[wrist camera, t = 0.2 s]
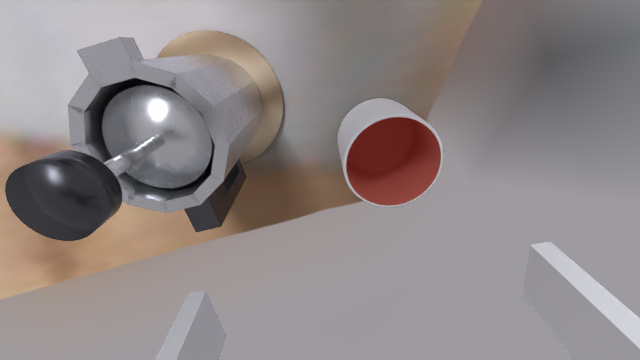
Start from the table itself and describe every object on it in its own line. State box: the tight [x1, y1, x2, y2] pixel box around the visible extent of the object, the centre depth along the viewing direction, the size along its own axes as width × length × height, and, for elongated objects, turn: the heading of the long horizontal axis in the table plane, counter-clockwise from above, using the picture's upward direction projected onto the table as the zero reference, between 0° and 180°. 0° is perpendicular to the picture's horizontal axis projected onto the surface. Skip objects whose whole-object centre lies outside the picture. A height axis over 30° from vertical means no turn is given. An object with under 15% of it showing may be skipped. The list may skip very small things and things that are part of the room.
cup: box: [337, 98, 443, 207], centre depth 34 cm, size 10×10×10 cm
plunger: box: [5, 84, 214, 241], centre depth 19 cm, size 8×8×11 cm
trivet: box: [157, 31, 283, 164], centre depth 37 cm, size 16×16×1 cm
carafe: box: [68, 37, 262, 232], centre depth 29 cm, size 16×11×16 cm
